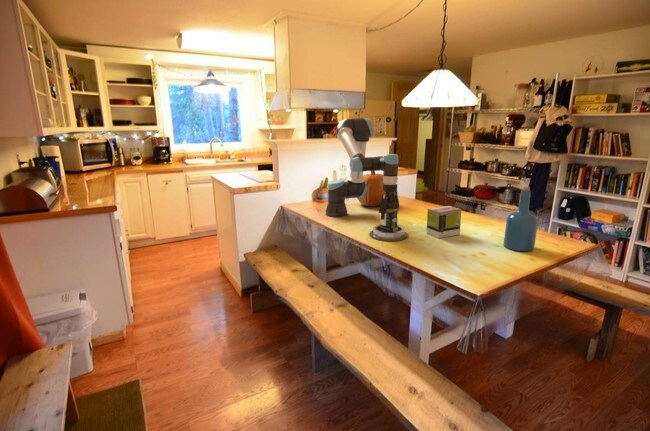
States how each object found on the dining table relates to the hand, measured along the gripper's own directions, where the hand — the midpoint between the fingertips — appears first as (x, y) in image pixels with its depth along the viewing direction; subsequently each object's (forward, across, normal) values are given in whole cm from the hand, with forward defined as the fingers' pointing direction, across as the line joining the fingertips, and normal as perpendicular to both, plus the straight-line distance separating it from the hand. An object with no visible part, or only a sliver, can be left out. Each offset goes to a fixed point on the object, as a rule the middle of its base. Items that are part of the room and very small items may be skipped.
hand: (389, 222), depth 184 cm
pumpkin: (+8, +60, +43) cm, 74 cm away
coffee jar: (+7, 0, 0) cm, 7 cm away
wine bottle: (+8, +17, -61) cm, 64 cm away
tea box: (+8, +18, -24) cm, 31 cm away
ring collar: (+8, 0, 0) cm, 8 cm away
